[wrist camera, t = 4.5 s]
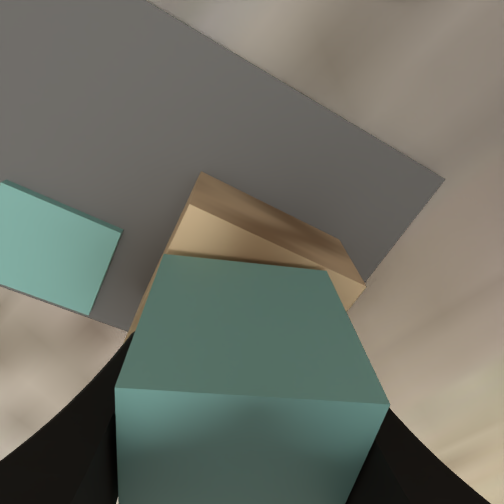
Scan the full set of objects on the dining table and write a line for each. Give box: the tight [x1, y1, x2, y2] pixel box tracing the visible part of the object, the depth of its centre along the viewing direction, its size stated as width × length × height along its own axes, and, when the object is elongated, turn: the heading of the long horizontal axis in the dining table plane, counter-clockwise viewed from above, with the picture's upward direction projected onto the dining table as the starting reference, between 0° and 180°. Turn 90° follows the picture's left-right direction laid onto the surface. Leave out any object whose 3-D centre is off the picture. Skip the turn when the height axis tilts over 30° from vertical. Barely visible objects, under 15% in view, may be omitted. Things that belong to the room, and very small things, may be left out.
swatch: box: [0, 180, 123, 315], centre depth 16 cm, size 5×5×1 cm
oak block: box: [123, 171, 367, 344], centre depth 15 cm, size 7×7×4 cm
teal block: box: [115, 254, 390, 504], centre depth 11 cm, size 6×6×6 cm
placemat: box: [0, 0, 445, 332], centre depth 16 cm, size 18×14×1 cm
